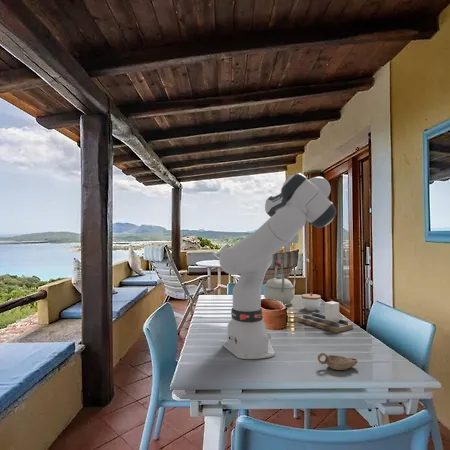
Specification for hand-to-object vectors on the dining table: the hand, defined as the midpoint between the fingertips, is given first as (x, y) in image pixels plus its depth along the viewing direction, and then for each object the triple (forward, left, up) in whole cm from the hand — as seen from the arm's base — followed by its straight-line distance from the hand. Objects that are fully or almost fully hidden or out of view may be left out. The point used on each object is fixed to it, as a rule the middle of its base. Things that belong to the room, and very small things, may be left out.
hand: (287, 251), depth 174 cm
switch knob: (-16, -16, -32) cm, 39 cm away
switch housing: (-13, -14, -34) cm, 39 cm away
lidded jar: (+18, -22, -34) cm, 45 cm away
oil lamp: (-60, +7, -34) cm, 69 cm away
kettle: (+38, -10, -34) cm, 52 cm away
